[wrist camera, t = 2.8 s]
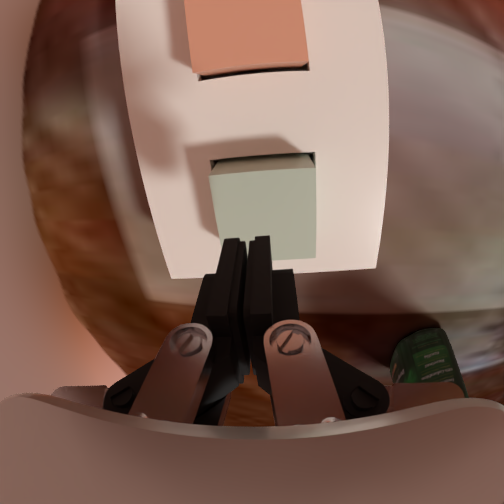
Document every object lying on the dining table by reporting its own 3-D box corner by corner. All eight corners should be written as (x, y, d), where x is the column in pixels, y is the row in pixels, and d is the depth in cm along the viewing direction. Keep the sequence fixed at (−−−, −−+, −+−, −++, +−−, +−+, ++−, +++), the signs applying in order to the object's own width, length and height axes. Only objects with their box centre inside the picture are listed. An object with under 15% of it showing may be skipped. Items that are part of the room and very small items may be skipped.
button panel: (346, -17, 11) (368, -42, 7) (357, 231, 22) (375, 268, 17) (147, 4, 12) (115, -13, 8) (188, 241, 23) (171, 278, 19)
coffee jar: (393, 333, 28) (432, 482, 13) (448, 318, 27) (500, 449, 11) (383, 374, 33) (405, 493, 18) (431, 361, 32) (462, 471, 16)
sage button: (306, 151, 15) (315, 167, 12) (308, 228, 18) (315, 258, 15) (220, 158, 16) (208, 175, 13) (231, 232, 18) (224, 263, 15)
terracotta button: (290, -9, 10) (295, -31, 7) (300, 67, 12) (308, 61, 9) (199, 1, 10) (182, -17, 7) (208, 76, 13) (192, 73, 10)
